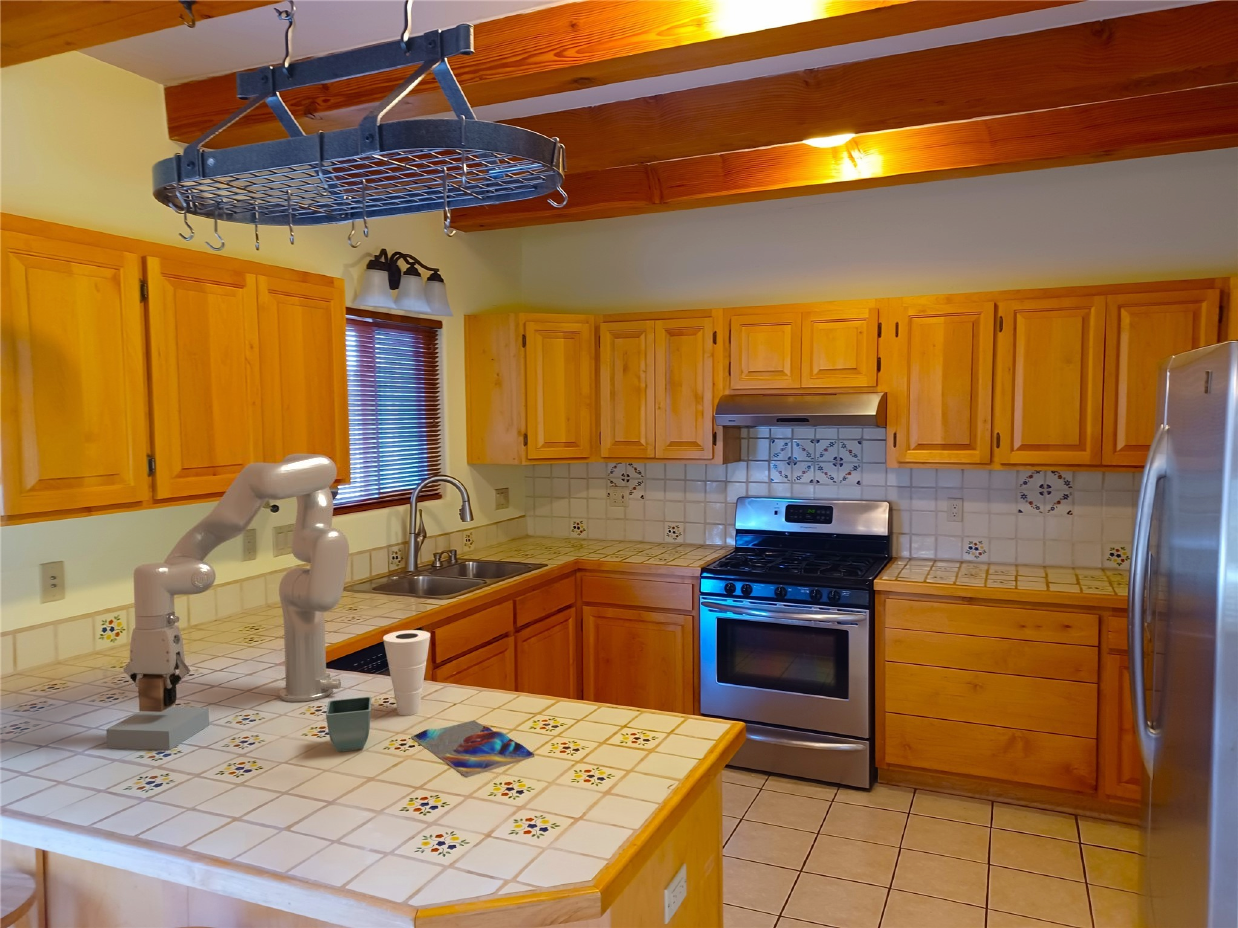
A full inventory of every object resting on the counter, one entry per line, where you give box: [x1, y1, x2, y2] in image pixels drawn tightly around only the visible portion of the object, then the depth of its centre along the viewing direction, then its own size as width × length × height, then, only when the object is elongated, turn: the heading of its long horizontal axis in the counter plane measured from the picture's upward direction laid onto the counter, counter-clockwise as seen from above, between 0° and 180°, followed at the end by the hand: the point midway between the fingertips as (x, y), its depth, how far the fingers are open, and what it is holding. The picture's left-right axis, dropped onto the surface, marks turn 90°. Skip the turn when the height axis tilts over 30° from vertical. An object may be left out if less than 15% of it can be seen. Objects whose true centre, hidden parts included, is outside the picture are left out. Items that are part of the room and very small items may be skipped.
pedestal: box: [106, 706, 210, 751], centre depth 182 cm, size 14×14×4 cm
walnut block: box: [138, 674, 177, 712], centre depth 181 cm, size 5×5×7 cm
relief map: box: [410, 719, 535, 778], centre depth 175 cm, size 25×15×2 cm, turn 38°
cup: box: [382, 629, 431, 716], centre depth 195 cm, size 11×11×18 cm
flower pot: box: [325, 696, 372, 752], centre depth 175 cm, size 9×9×9 cm
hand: (157, 702), depth 181 cm, fingers closed on walnut block, 5 cm apart
